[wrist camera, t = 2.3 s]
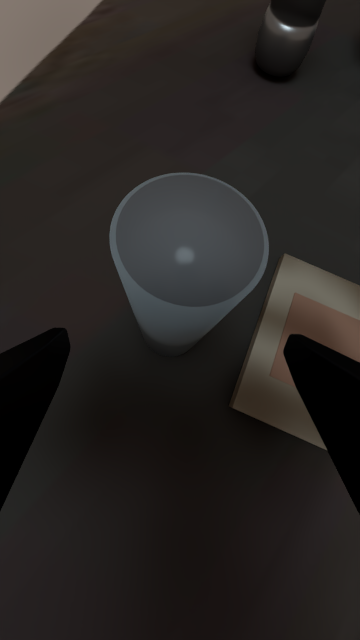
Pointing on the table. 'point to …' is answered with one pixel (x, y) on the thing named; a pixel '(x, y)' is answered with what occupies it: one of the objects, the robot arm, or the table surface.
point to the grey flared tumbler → (186, 256)
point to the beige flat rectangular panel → (272, 333)
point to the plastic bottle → (286, 35)
